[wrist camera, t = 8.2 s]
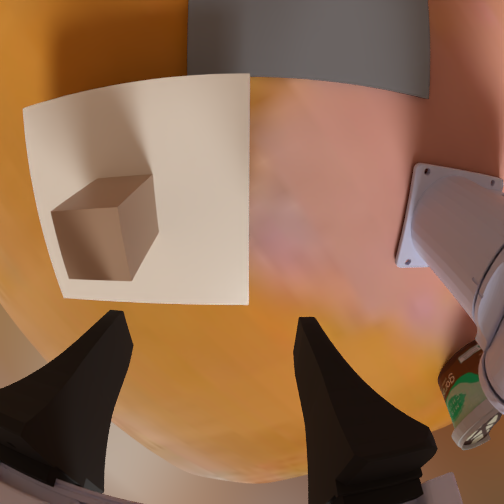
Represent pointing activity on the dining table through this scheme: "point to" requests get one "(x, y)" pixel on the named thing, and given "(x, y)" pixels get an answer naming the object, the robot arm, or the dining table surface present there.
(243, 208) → the lid
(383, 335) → the dining table surface
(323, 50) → the mat
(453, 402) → the food container
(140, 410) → the dining table surface
